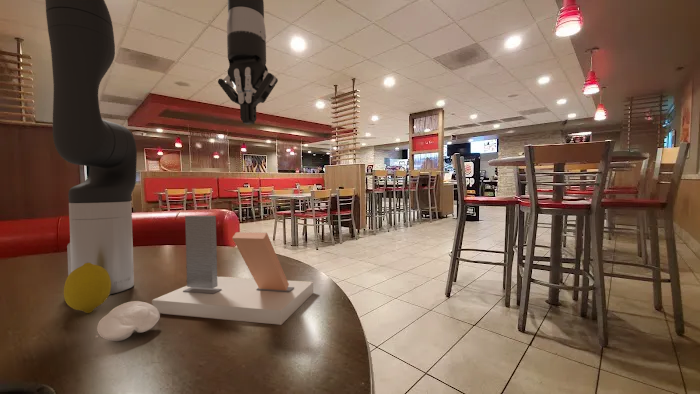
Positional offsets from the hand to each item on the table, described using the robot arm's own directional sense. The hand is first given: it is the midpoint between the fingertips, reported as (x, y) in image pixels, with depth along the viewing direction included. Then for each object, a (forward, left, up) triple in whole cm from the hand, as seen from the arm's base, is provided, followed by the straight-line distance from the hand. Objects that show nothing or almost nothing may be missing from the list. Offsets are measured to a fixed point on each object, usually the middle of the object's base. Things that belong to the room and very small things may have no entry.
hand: (248, 123), depth 60 cm
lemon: (-17, -19, -33) cm, 42 cm away
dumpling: (-3, -24, -33) cm, 41 cm away
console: (+4, -10, -33) cm, 35 cm away
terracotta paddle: (+10, -9, -31) cm, 34 cm away
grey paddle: (-2, -12, -31) cm, 33 cm away
